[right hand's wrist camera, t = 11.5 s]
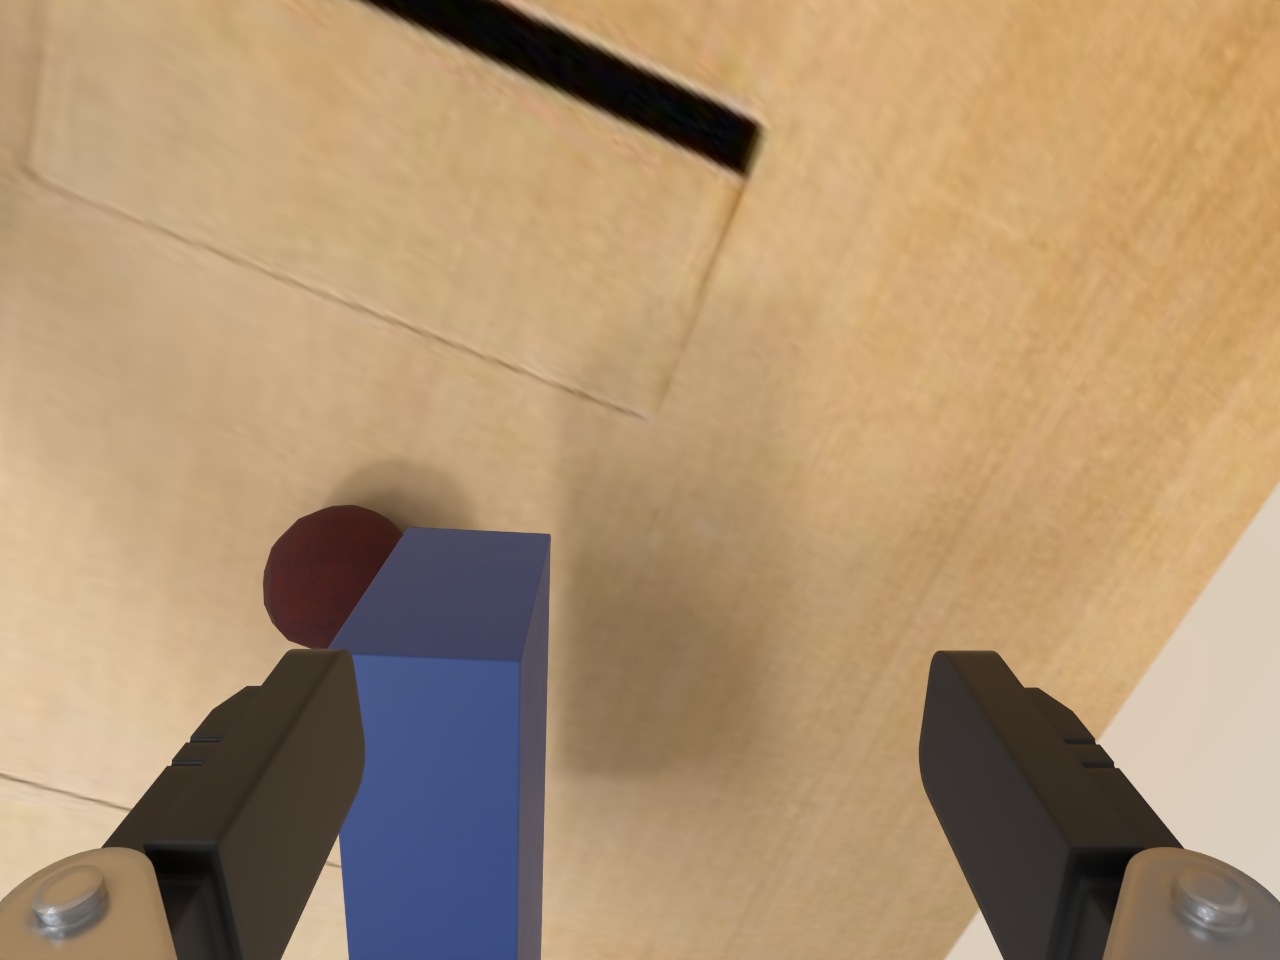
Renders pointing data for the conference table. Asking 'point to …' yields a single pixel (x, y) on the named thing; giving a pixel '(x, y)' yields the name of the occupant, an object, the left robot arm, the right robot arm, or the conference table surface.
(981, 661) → the right robot arm
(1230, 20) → the conference table surface
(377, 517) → the dark red ball
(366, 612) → the box
